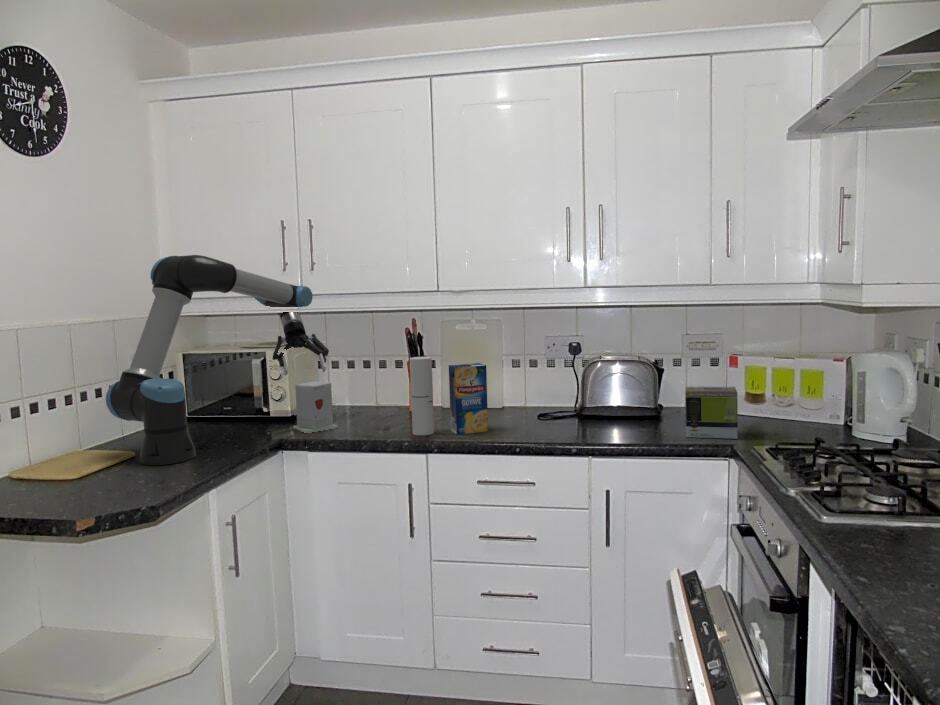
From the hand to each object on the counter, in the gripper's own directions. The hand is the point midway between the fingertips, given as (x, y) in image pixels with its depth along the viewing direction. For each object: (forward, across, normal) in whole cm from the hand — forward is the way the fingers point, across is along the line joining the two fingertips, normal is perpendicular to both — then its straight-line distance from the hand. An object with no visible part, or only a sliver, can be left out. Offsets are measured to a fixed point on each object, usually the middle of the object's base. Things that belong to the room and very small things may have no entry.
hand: (305, 371), depth 243 cm
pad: (+20, 0, -7) cm, 21 cm away
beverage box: (+45, -42, +17) cm, 64 cm away
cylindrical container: (+40, -28, +13) cm, 51 cm away
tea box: (+79, -101, +52) cm, 139 cm away
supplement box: (+20, 0, -6) cm, 21 cm away
